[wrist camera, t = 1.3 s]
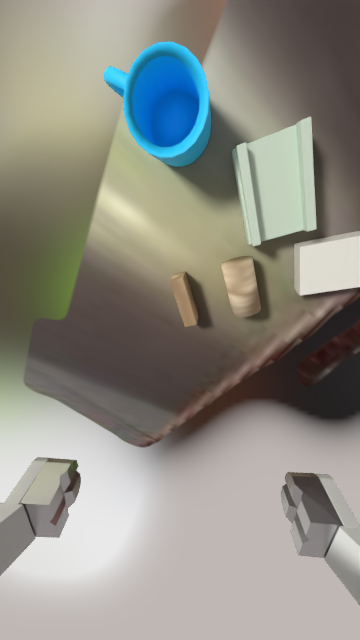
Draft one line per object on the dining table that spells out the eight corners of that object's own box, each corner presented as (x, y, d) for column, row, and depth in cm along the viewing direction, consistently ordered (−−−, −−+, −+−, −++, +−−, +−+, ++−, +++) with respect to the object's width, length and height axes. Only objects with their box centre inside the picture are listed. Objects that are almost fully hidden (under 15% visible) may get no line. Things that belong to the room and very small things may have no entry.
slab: (374, 227, 31) (388, 230, 28) (367, 277, 34) (379, 284, 31) (293, 243, 33) (299, 247, 30) (294, 288, 36) (299, 295, 34)
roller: (250, 254, 34) (254, 261, 31) (258, 301, 38) (263, 313, 34) (221, 261, 36) (221, 269, 32) (231, 307, 39) (233, 319, 35)
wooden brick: (185, 271, 37) (182, 278, 34) (198, 314, 40) (196, 324, 37) (173, 274, 37) (169, 281, 34) (187, 317, 41) (185, 326, 38)
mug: (224, 107, 27) (226, 75, 20) (191, 179, 31) (183, 174, 24) (132, 46, 26) (100, -11, 19) (110, 130, 30) (76, 109, 23)
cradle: (300, 126, 27) (314, 114, 23) (306, 224, 31) (319, 228, 27) (231, 153, 29) (233, 146, 25) (246, 241, 33) (250, 247, 30)
